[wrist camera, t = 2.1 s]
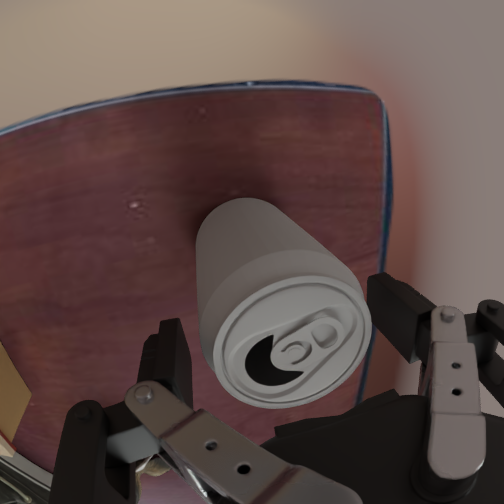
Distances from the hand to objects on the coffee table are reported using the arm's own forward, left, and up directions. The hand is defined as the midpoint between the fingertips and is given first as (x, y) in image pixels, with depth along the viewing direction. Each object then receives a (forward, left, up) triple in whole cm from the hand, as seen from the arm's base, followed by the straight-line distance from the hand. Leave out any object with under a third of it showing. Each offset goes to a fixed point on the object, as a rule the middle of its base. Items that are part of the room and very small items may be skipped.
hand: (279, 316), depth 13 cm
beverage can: (0, 0, -10) cm, 10 cm away
